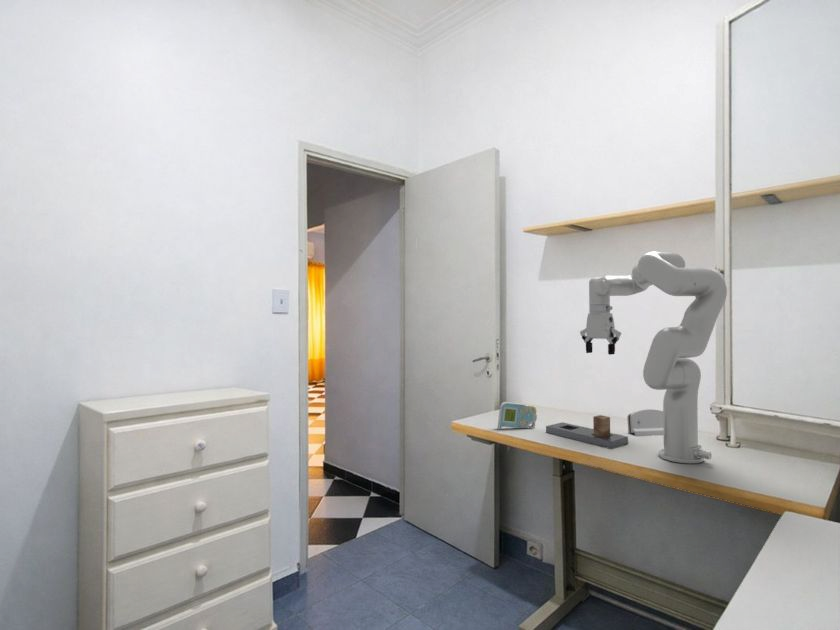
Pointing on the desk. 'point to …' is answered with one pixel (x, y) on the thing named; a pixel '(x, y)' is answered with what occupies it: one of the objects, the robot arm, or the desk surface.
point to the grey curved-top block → (646, 422)
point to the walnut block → (601, 426)
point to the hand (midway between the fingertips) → (600, 353)
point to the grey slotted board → (586, 435)
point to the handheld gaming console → (516, 415)
